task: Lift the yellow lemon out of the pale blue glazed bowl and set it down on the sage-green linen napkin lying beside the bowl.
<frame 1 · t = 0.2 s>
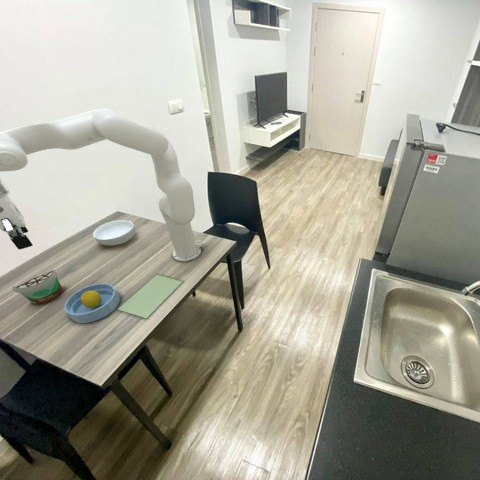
hand: (23, 240, 82), 31 cm above the table, tool pointing down, fingers open, 9 cm apart
lemon: (96, 306, 100), resting on bowl
cereal bowl: (119, 240, 133), on the table
napkin: (152, 295, 106), on the table
food container: (51, 298, 102), on the table
bowl: (96, 306, 100), on the table
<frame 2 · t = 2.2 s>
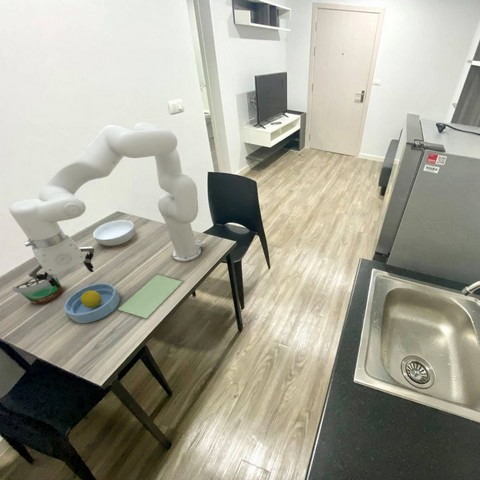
hand: (74, 277, 91), 16 cm above the table, tool pointing down, fingers open, 9 cm apart
nothing on the table moved.
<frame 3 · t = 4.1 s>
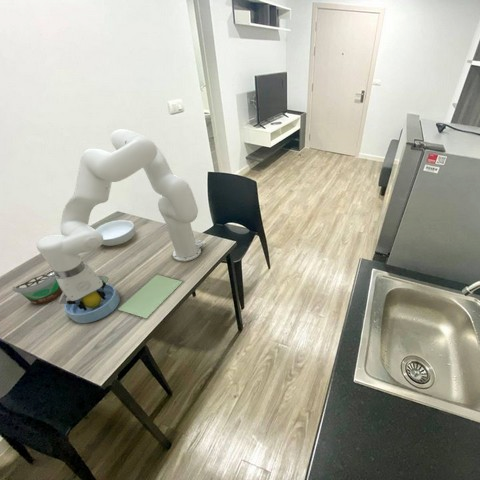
hand: (93, 302, 99), 2 cm above the table, tool pointing down, fingers closed on lemon, 5 cm apart
lemon: (96, 306, 100), resting on bowl, touching gripper
everything else where it was.
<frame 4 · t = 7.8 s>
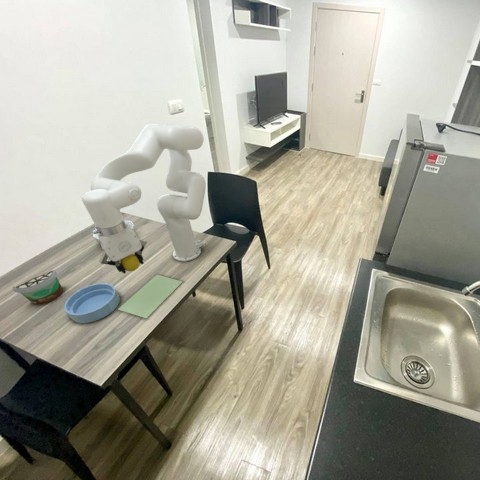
hand: (131, 266, 96), 16 cm above the table, tool pointing down, fingers closed on lemon, 5 cm apart
lemon: (134, 270, 97), point 14 cm above the table, touching gripper
everything else where it was.
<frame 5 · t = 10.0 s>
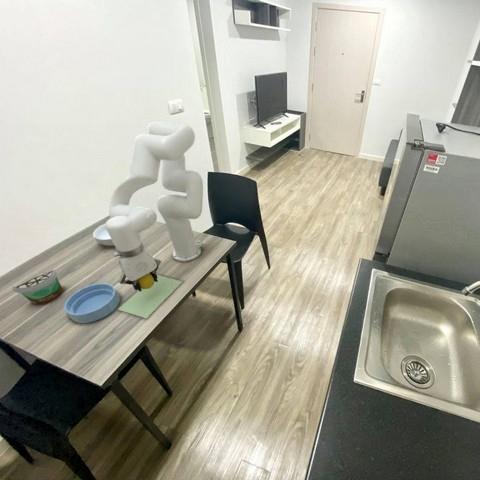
hand: (147, 284, 103), 6 cm above the table, tool pointing down, fingers closed on lemon, 5 cm apart
lemon: (148, 288, 104), point 4 cm above the table, touching gripper
everything else where it was.
when the fingers open (2 cm above the table, at t = 11.4 s): lemon stays where it is, resting on napkin.
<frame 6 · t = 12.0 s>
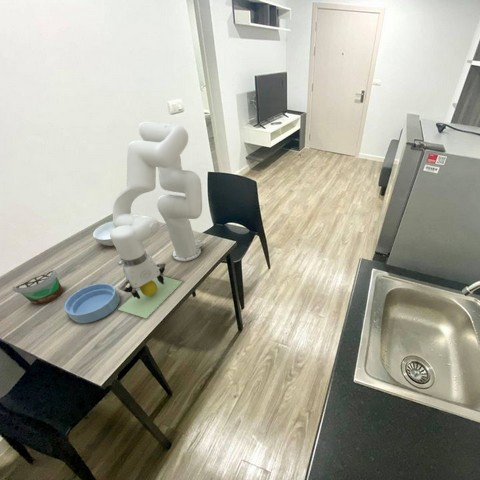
hand: (149, 289, 105), 3 cm above the table, tool pointing down, fingers open, 9 cm apart
lemon: (152, 295, 106), resting on napkin
everything else where it was.
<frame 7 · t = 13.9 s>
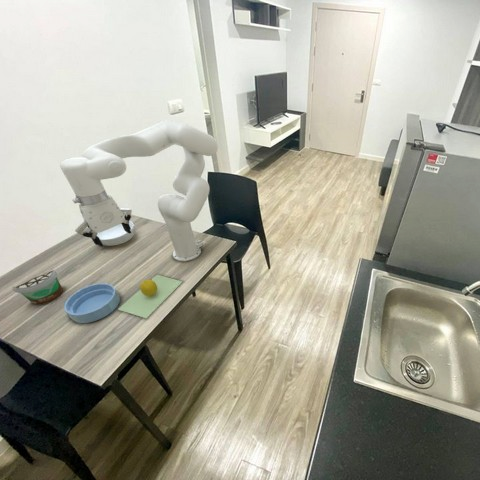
hand: (114, 238, 95), 25 cm above the table, tool pointing down, fingers open, 9 cm apart
nothing on the table moved.
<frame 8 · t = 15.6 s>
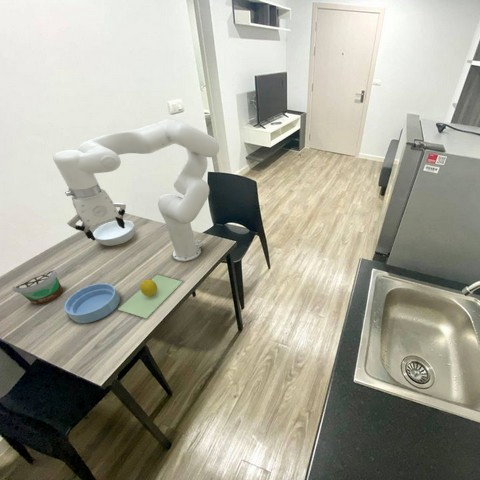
hand: (108, 232, 95), 26 cm above the table, tool pointing down, fingers open, 9 cm apart
nothing on the table moved.
at the end: lemon 0.1 cm from the napkin (horizontally); lemon resting on napkin; lemon touching napkin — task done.
